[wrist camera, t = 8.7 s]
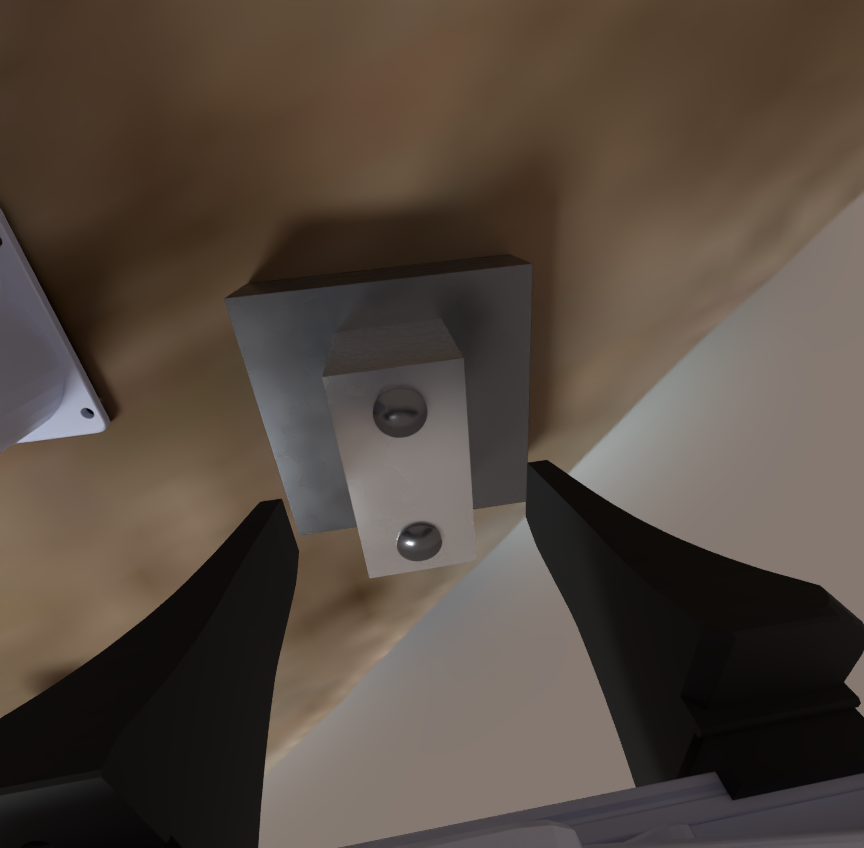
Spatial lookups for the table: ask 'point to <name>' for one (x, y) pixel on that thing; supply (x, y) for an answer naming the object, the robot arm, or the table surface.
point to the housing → (404, 444)
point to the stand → (374, 307)
